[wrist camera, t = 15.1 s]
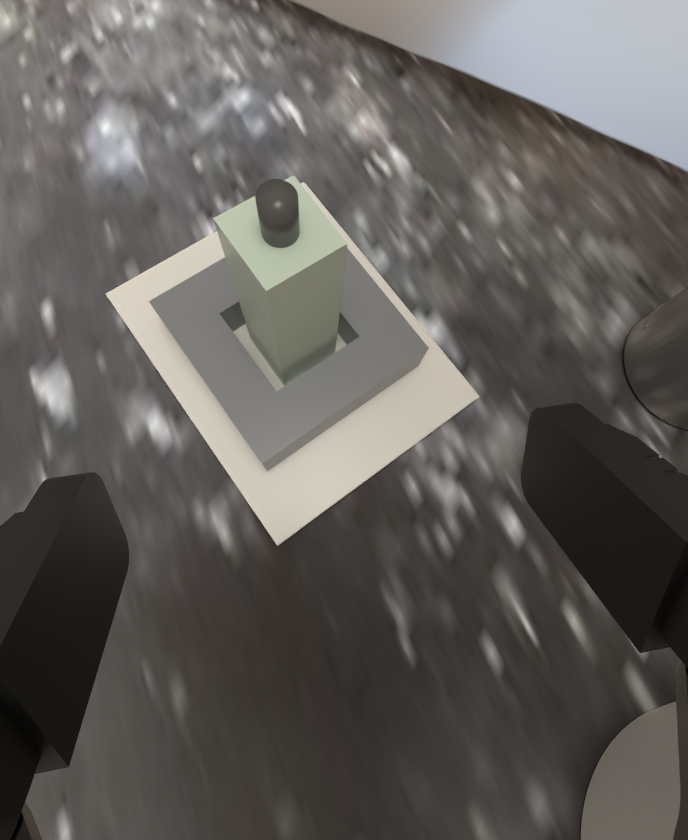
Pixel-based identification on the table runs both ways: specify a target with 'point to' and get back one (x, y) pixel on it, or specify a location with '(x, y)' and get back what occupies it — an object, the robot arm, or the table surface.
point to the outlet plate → (332, 448)
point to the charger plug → (285, 275)
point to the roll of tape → (636, 782)
